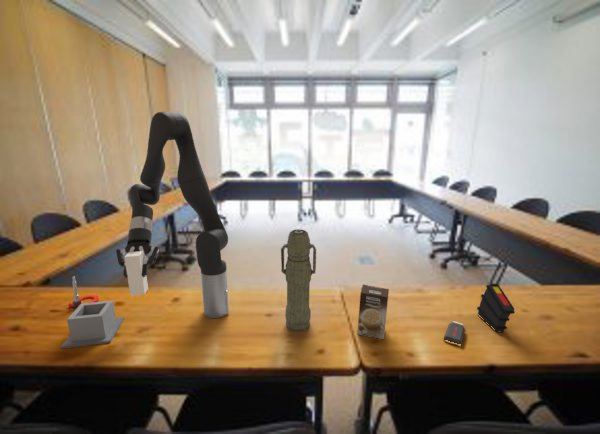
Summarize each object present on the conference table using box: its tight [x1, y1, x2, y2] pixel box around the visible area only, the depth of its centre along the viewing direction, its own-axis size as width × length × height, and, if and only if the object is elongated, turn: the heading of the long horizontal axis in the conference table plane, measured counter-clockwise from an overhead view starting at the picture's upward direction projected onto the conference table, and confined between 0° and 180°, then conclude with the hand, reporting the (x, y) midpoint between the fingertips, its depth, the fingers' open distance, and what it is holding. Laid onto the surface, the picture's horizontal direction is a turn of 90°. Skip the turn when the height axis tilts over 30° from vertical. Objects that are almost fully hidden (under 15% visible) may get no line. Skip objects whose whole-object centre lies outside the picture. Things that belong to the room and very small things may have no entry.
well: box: [60, 300, 125, 349], centre depth 105 cm, size 14×14×9 cm
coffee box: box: [356, 284, 390, 340], centre depth 106 cm, size 9×6×16 cm
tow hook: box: [68, 275, 100, 309], centre depth 124 cm, size 8×13×9 cm
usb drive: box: [443, 320, 466, 344], centre depth 107 cm, size 5×12×3 cm, turn 146°
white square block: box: [123, 251, 149, 297], centre depth 105 cm, size 4×4×14 cm
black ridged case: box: [476, 283, 516, 332], centre depth 112 cm, size 4×13×15 cm, turn 3°
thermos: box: [280, 228, 317, 332], centre depth 108 cm, size 9×12×35 cm
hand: (135, 276), depth 104 cm, fingers closed on white square block, 4 cm apart
